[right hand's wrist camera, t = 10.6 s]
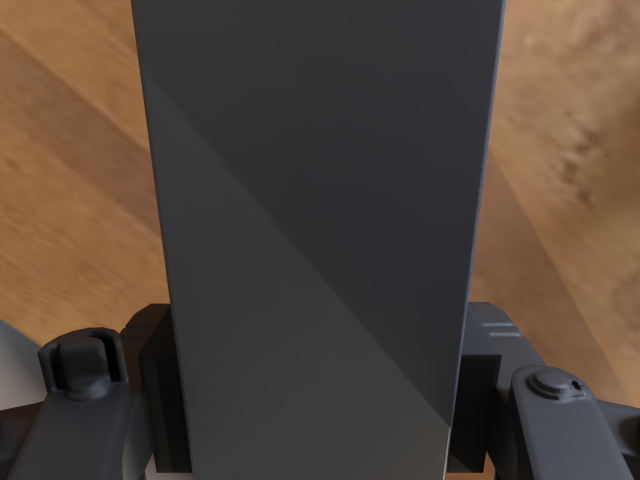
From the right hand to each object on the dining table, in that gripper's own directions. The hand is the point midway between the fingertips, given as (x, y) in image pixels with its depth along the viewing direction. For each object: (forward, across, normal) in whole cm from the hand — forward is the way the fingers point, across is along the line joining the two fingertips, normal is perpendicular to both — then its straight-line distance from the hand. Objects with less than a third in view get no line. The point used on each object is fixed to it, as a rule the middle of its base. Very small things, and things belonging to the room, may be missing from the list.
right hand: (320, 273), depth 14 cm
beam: (+1, 0, -25) cm, 25 cm away
